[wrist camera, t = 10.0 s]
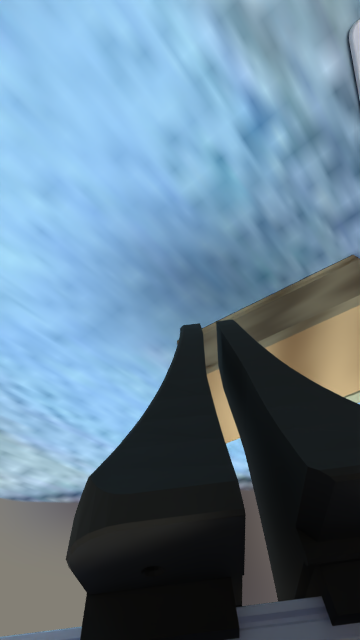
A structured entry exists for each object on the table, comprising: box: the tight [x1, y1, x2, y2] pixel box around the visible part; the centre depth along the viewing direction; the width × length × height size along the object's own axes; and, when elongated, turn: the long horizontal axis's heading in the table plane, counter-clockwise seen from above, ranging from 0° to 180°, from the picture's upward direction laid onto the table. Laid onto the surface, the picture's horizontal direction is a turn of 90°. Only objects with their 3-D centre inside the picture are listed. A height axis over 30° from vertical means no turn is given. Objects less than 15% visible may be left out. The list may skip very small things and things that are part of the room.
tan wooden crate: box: [177, 255, 360, 443], centre depth 22 cm, size 14×7×5 cm, turn 119°
